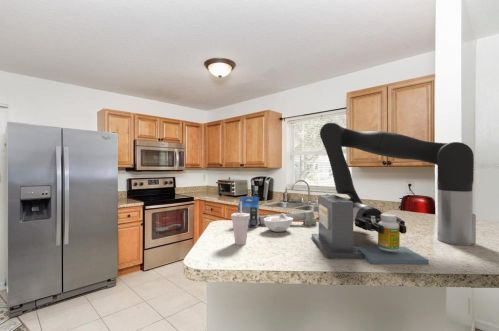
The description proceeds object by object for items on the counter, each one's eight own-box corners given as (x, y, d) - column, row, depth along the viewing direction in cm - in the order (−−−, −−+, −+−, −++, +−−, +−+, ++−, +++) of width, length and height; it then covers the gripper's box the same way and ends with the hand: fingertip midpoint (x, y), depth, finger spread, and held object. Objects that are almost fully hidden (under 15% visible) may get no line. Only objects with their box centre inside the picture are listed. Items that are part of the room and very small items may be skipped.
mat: (404, 249, 78) (404, 246, 78) (428, 263, 67) (428, 260, 67) (354, 249, 79) (354, 246, 79) (370, 263, 68) (370, 259, 68)
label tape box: (237, 226, 109) (236, 197, 109) (239, 224, 113) (239, 196, 113) (257, 227, 107) (257, 198, 107) (259, 225, 111) (259, 196, 111)
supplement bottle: (391, 253, 70) (391, 217, 69) (373, 247, 74) (373, 214, 74) (403, 249, 72) (403, 215, 72) (385, 244, 77) (385, 212, 77)
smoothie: (253, 241, 88) (252, 200, 88) (245, 247, 82) (244, 203, 82) (236, 239, 90) (236, 199, 90) (227, 244, 85) (227, 202, 85)
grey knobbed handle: (258, 215, 115) (313, 207, 115) (260, 229, 115) (315, 221, 115) (258, 217, 110) (316, 209, 109) (260, 232, 110) (318, 224, 110)
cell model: (259, 229, 104) (259, 212, 104) (284, 226, 109) (284, 210, 109) (270, 235, 95) (270, 217, 95) (298, 232, 99) (298, 214, 99)
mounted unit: (339, 237, 91) (339, 194, 91) (363, 258, 71) (363, 203, 71) (311, 237, 92) (311, 194, 91) (327, 258, 72) (326, 203, 71)
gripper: (345, 205, 88) (367, 216, 71) (388, 205, 87) (420, 216, 70) (345, 227, 88) (367, 243, 71) (388, 227, 87) (420, 243, 70)
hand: (393, 230), depth 71 cm, fingers closed on supplement bottle, 5 cm apart
